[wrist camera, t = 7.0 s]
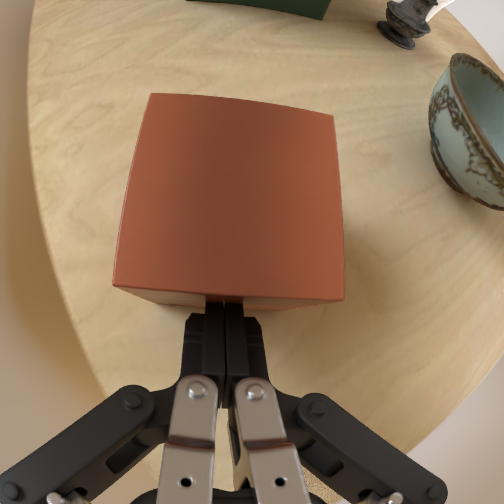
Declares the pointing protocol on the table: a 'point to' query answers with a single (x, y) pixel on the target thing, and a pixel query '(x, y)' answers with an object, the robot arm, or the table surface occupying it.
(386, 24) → the dark grey chess piece
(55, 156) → the table surface
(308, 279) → the block
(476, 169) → the bowl
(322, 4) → the box
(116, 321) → the table surface
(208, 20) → the table surface
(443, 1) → the cup
